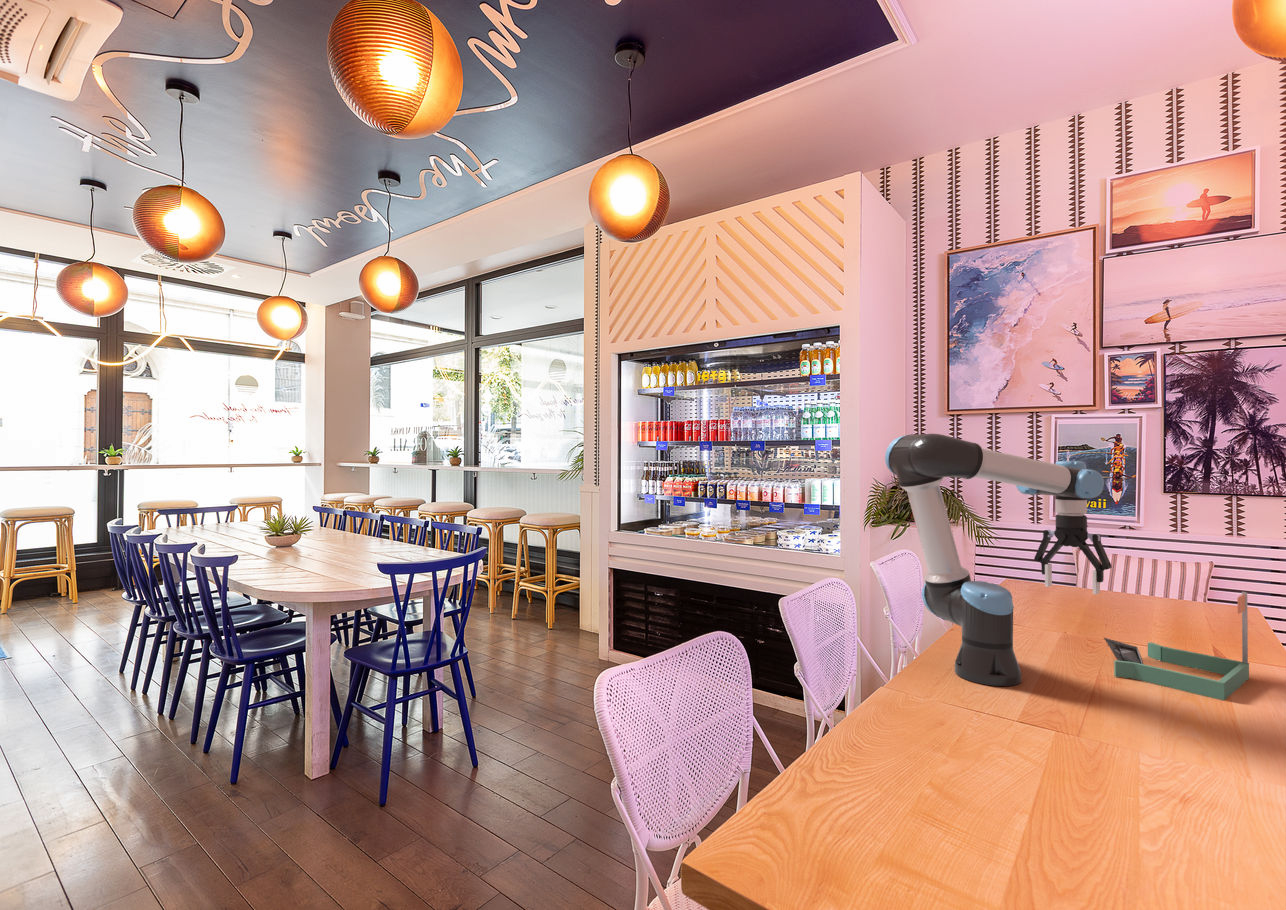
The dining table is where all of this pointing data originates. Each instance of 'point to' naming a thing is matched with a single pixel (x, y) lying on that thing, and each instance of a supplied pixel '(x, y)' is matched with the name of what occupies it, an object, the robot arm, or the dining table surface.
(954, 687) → the dining table surface
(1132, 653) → the paper boat
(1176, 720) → the dining table surface
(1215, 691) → the green u-shaped frame
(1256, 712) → the dining table surface
